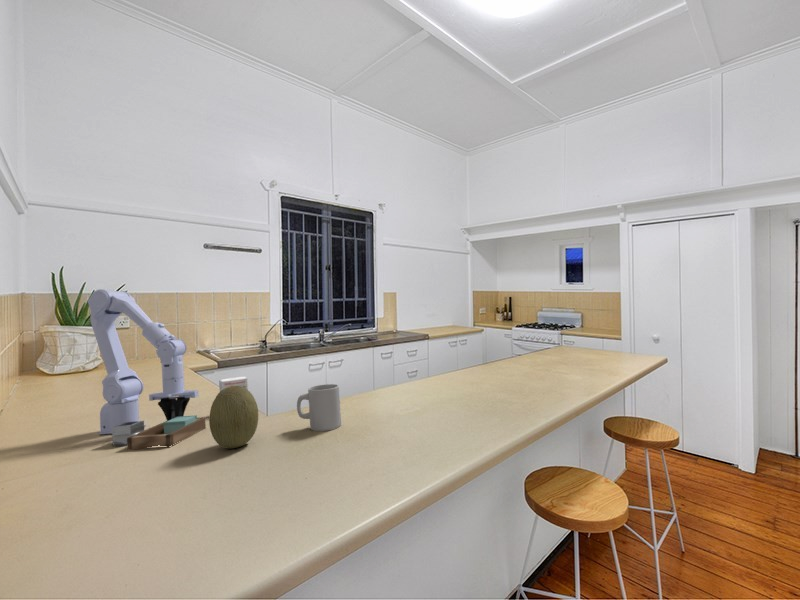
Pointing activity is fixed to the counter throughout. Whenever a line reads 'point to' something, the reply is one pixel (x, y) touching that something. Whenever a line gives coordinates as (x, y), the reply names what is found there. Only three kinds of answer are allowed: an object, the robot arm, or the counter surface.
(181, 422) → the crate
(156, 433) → the bay
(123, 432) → the grey piece
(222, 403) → the fruit
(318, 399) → the mug
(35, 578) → the counter surface
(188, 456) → the counter surface
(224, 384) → the ink box
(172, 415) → the pin
